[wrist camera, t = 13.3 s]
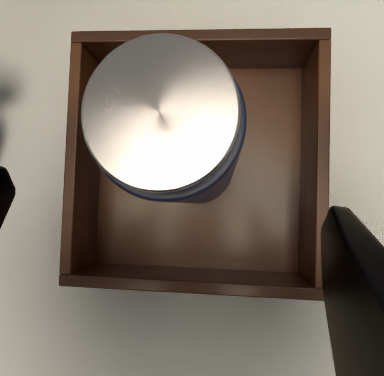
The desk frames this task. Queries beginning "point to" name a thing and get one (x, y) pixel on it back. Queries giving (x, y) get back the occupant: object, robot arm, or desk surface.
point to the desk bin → (232, 196)
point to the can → (165, 119)
